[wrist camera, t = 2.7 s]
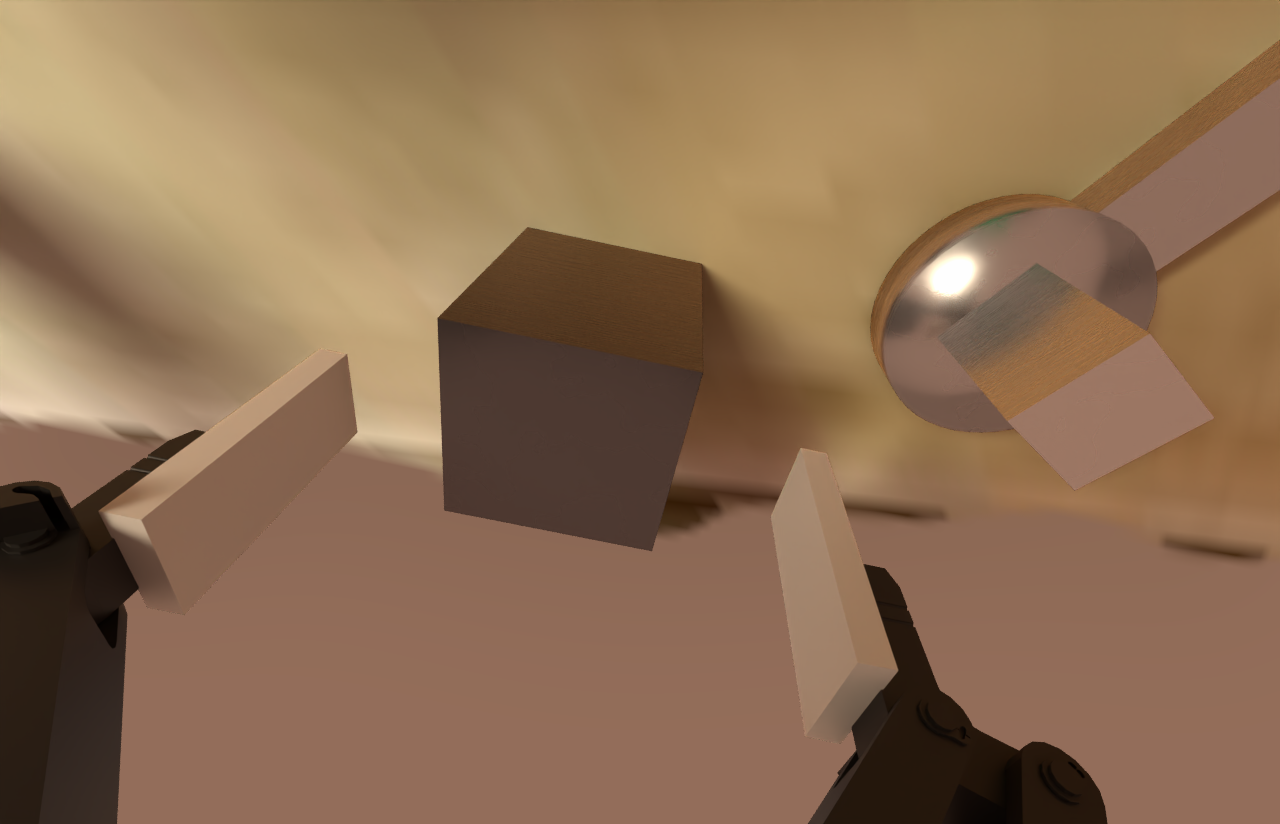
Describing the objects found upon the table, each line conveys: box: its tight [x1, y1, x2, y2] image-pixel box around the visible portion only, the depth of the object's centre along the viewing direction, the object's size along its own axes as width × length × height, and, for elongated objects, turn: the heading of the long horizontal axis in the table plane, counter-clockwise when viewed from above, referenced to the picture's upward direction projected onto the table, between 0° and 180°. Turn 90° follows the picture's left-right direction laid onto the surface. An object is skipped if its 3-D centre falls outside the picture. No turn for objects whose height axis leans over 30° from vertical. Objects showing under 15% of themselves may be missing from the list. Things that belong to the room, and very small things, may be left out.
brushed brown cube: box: [438, 227, 703, 551], centre depth 18 cm, size 6×6×8 cm
